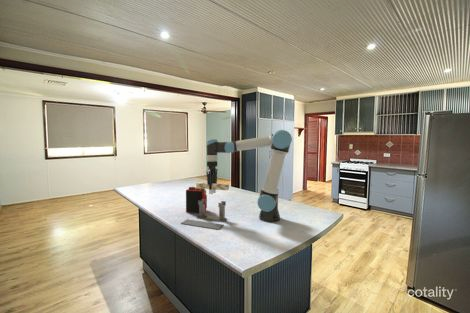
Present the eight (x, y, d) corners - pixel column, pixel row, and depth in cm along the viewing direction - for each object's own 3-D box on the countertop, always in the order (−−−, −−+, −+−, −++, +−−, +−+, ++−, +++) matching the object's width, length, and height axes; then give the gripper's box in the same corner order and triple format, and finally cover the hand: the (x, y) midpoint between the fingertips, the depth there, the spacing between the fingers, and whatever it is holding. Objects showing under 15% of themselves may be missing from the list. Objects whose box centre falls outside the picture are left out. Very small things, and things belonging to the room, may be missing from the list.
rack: (226, 219, 164) (226, 201, 164) (223, 222, 159) (223, 203, 158) (200, 215, 172) (201, 198, 171) (197, 218, 166) (197, 200, 165)
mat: (223, 225, 152) (223, 224, 152) (218, 229, 145) (218, 228, 145) (187, 220, 162) (187, 219, 162) (180, 223, 154) (180, 223, 154)
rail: (228, 189, 161) (228, 184, 161) (226, 190, 158) (226, 185, 158) (198, 187, 169) (198, 182, 169) (196, 187, 166) (196, 183, 166)
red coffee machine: (207, 210, 185) (208, 186, 183) (202, 214, 175) (202, 188, 174) (190, 208, 189) (190, 184, 188) (184, 212, 179) (184, 187, 178)
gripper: (212, 159, 171) (212, 190, 173) (201, 161, 156) (202, 195, 157) (221, 160, 169) (221, 191, 170) (211, 162, 153) (212, 196, 155)
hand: (212, 193), depth 164 cm, fingers closed on rail, 3 cm apart
